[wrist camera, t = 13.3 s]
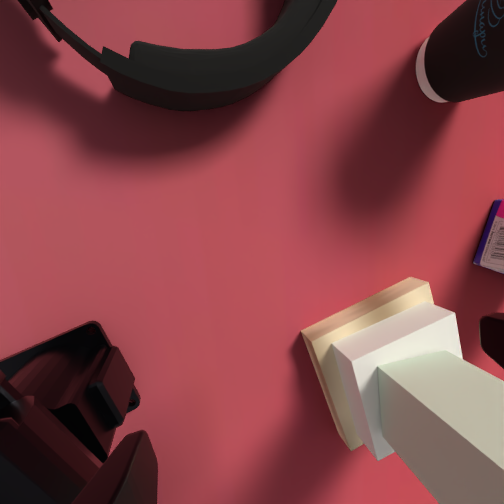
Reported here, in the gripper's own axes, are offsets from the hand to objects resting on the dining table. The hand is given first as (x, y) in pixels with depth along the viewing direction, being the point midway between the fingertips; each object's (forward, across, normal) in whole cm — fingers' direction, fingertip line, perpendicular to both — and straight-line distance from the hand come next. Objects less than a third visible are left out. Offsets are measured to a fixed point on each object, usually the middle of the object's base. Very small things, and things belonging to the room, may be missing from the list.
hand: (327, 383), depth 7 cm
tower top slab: (+12, -9, +10) cm, 18 cm away
